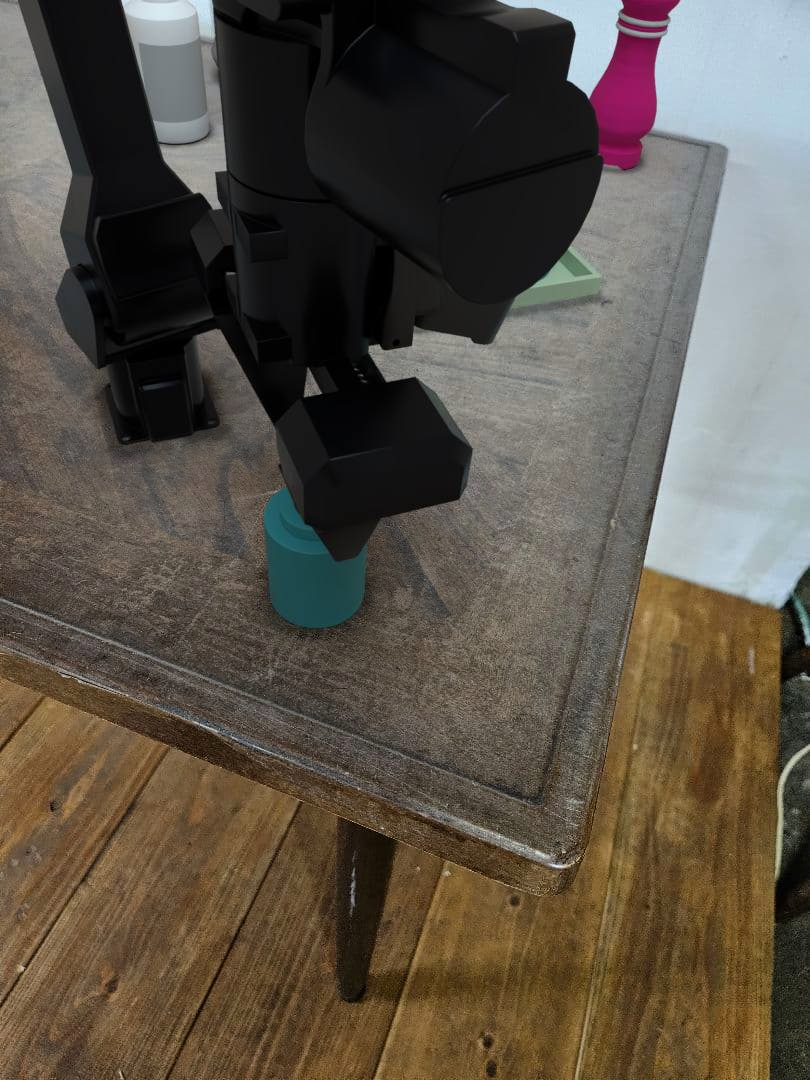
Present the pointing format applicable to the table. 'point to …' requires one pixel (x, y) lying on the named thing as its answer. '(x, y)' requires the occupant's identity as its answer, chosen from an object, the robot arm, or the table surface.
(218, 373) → the table surface
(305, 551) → the bottle loose
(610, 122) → the pepper mill
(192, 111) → the spray bottle
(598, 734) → the table surface
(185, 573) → the table surface
